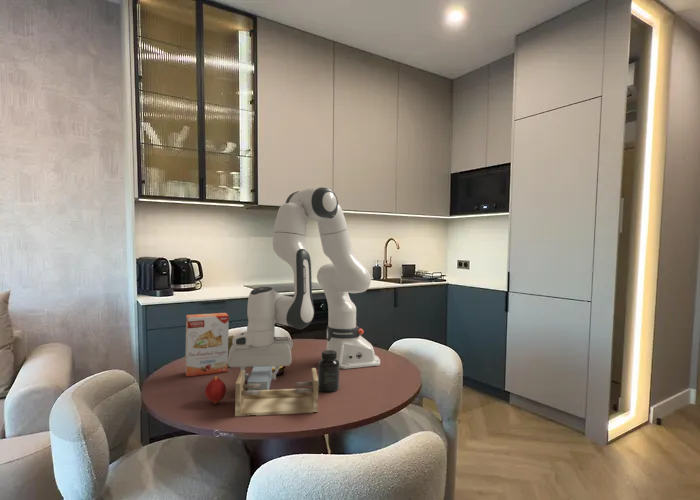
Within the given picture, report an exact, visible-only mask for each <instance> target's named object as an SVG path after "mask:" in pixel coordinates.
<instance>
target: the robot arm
mask: <svg viewBox="0 0 700 500" xmlns="http://www.w3.org/2000/svg"><path fill="white" fill-rule="evenodd" d="M309 220H316V222H317V226H318V232H319V237H320V243H321V246H322V251H323V253H324V255H325V257H327V258H328V259H329V261H331V263H327V264H324V265H321V266H320V268H318V270H317V274H316V279H317V282H318V283H317V284H319V286H320V287H321V288H322V290H323V293H324V295H325V298H326V301H327V309H328V311H327V312H328V313H327V314H328V316H327V317H328V323H327V324H328V325H327V327H326V341H327V343H326V350H333V351H336V352H337V358H336V359H337V360H338V361H339V364H340V367H339V369H342V370H343V369H345V370H346V369H355V368H357V369H358V368H368V367H375V366H376V367H377V366H380V365H381V359H380V357H379V356H378V355H376V353H375V350H374V347H373V345H372V344H371V342H369V341H368V340H367V339H366V338H364V337H363V336H362V335H363V334H364V330H363V328H361V327H359V326H358V325H357V306H356V305H355V303H354V302H353V301H352V300H351V297H350V295H349V293H350V294H359V293H360V294H361V293H363V292H364V293H365V292H366V291H367V290H368V289H369V287H370V285H371V282H372V276H371V273H370V271H369V269H367V268H366V267H365V266H364V265H363V264H362V263H361V262H360V260H359V259H358V257H357V256H356V254H355V252H354V249H353V247H352V243H351V238H350V235H349V229H348V224H347V221H346V217H345V215H344V211H343V209H342V207H341V205H340V204H339V201H338V197H337V195H336V193H335V192H334V190H333V189H331V188H329V187H328V188H327V187H315V188H314V187H310V188H307V189H303V190H300V191H298V190H297V191H295V192H292V193H291V194H290V195H288V197H287V198H286V200H285V203H283V204H281V205H280V207H279V208H278V211H277V214H276V217H275V223H274V227H273V233H272V234H273V235H272V247H273V251H274V253H275V254H276V255H277V257H278V258H280V259H281V260H283V261H284V262H286V264H288V265H289V266H290V267H291V269H292V271H293V289H294V290H293V291H294V292H293V294H294V295H293V296H289V295H285V294H281V293H279V292H277V291H275V290H274V288H273V287H270V286H260V287H256V288H253V289H252V290H251V291H250V293H249V295H248V300H247V306H246V307H247V311H246V313H247V320H248V322H247V327H246V331H244V332H240V333H237V334H235V335H233V336H234V337H233V340H232V344H233V345H232V346H231V348H230V351H229V356H228V365H229V366H230V367H229V368H239V369H240V370H245V369H246V368H248V367H249V368H251V367H261V366H272V367H274V372H272V373H271V380H276V379H277V374H278V372H279V370H280V367H288V366H289V367H290V365H291V364H292V349H293V347H294V343H293V339H291V338H289V336H283V337H282V336H275V330H276V329H275V328H276V327H275V325H276V324H280V325H285V326H289V327H291V328H293V329H297V330H303V329H304V328H307V327H308V326H309V325H310V324H311V323H312V321H313V319H314V317H315V306H314V300H313V291H312V290H313V289H312V288H313V287H312V285H313V283H312V280H313V279H312V261H311V256H310V253H309V252H308V250H307V247H306V234H307V233H306V230H307V224H308V223H307V222H308V221H309ZM240 370H239V371H240ZM249 377H250V373H247V371H246V370H245V381H248V379H249Z"/></svg>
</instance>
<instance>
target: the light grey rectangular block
mask: <svg viewBox="0 0 700 500" xmlns="http://www.w3.org/2000/svg"><path fill="white" fill-rule="evenodd" d="M271 373H273V366H261V367H253V368H252V370H251V373H250V374H249V379H248V380H247V382H246V384H261V388H247V390H246V391H248V390H270V387H271V383H272V379H271Z"/></svg>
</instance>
